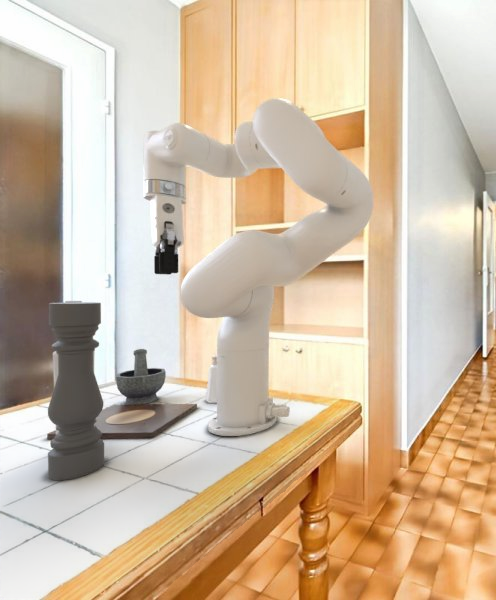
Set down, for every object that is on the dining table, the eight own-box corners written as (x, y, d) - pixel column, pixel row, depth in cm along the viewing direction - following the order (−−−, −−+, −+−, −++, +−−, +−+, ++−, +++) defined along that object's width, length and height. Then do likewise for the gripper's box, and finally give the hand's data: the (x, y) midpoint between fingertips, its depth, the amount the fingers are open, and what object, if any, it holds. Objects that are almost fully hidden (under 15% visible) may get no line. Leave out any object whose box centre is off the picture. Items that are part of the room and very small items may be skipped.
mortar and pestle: (167, 402, 83) (166, 352, 83) (116, 410, 77) (115, 356, 77) (162, 391, 92) (162, 346, 91) (116, 397, 86) (116, 349, 85)
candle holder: (55, 485, 48) (53, 304, 47) (42, 472, 51) (39, 302, 51) (111, 466, 53) (109, 303, 53) (95, 455, 56) (94, 302, 56)
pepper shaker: (204, 404, 82) (204, 358, 82) (206, 397, 87) (206, 353, 87) (229, 401, 84) (229, 356, 84) (230, 395, 89) (230, 352, 89)
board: (197, 408, 79) (197, 403, 79) (152, 437, 63) (152, 431, 63) (114, 408, 78) (114, 403, 78) (47, 439, 62) (46, 433, 62)
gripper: (193, 188, 70) (193, 273, 71) (179, 204, 84) (179, 275, 84) (147, 180, 66) (148, 271, 66) (140, 198, 79) (141, 274, 79)
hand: (165, 273), depth 75 cm, fingers open, 9 cm apart
